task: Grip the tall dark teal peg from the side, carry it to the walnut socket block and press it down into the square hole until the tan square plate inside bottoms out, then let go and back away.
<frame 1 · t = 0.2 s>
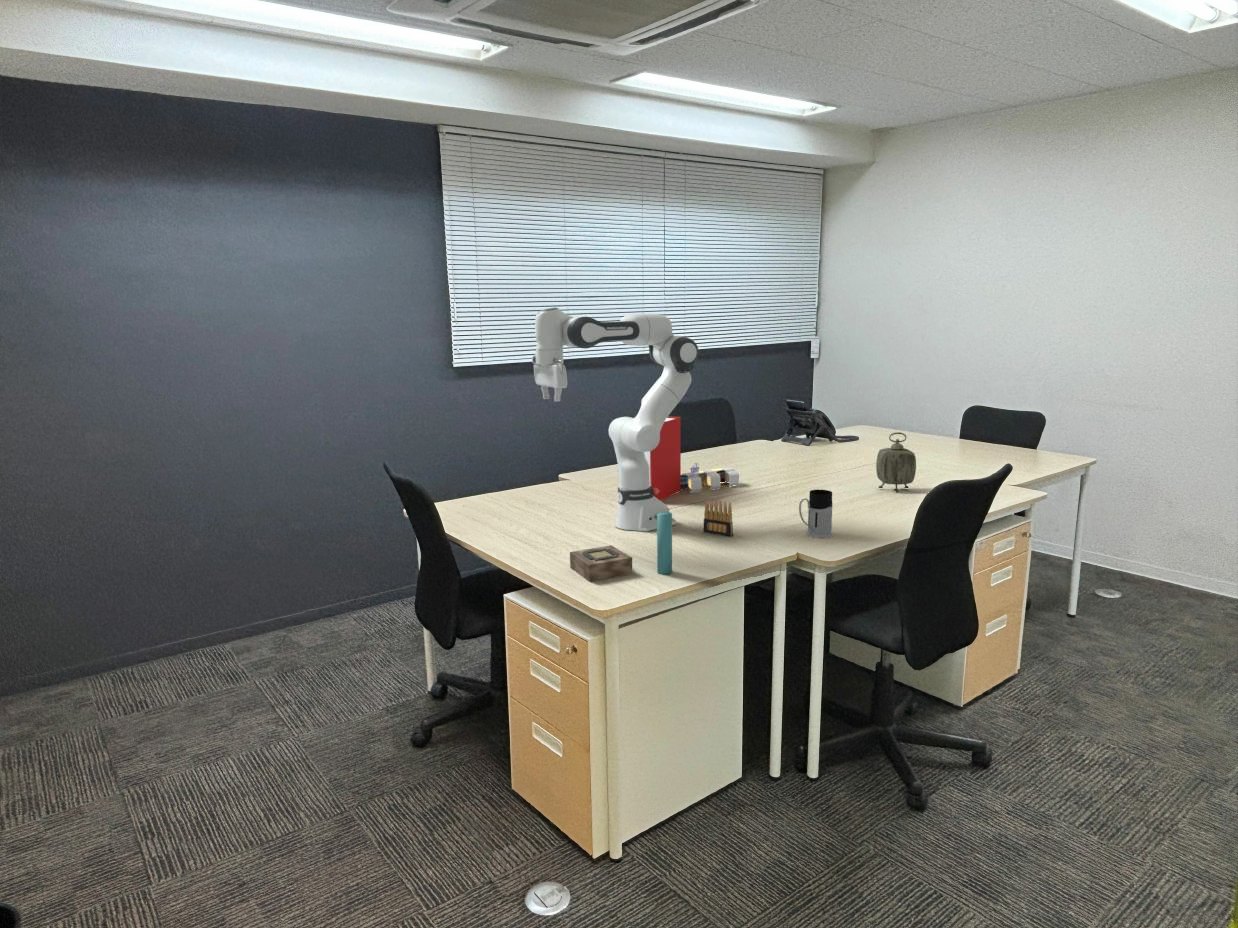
hand: (551, 400, 256), 48 cm above the table, tool pointing down, fingers open, 8 cm apart
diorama: (708, 489, 336), on the table
tabletop clock: (895, 491, 325), on the table
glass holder: (813, 536, 263), on the table
tan square plate: (600, 556, 230), point 5 cm above the table, slide at 4.0 cm
book: (658, 496, 323), on the table
peg: (664, 572, 229), on the table
socket block: (600, 570, 231), on the table
ammunition clip: (717, 534, 267), on the table
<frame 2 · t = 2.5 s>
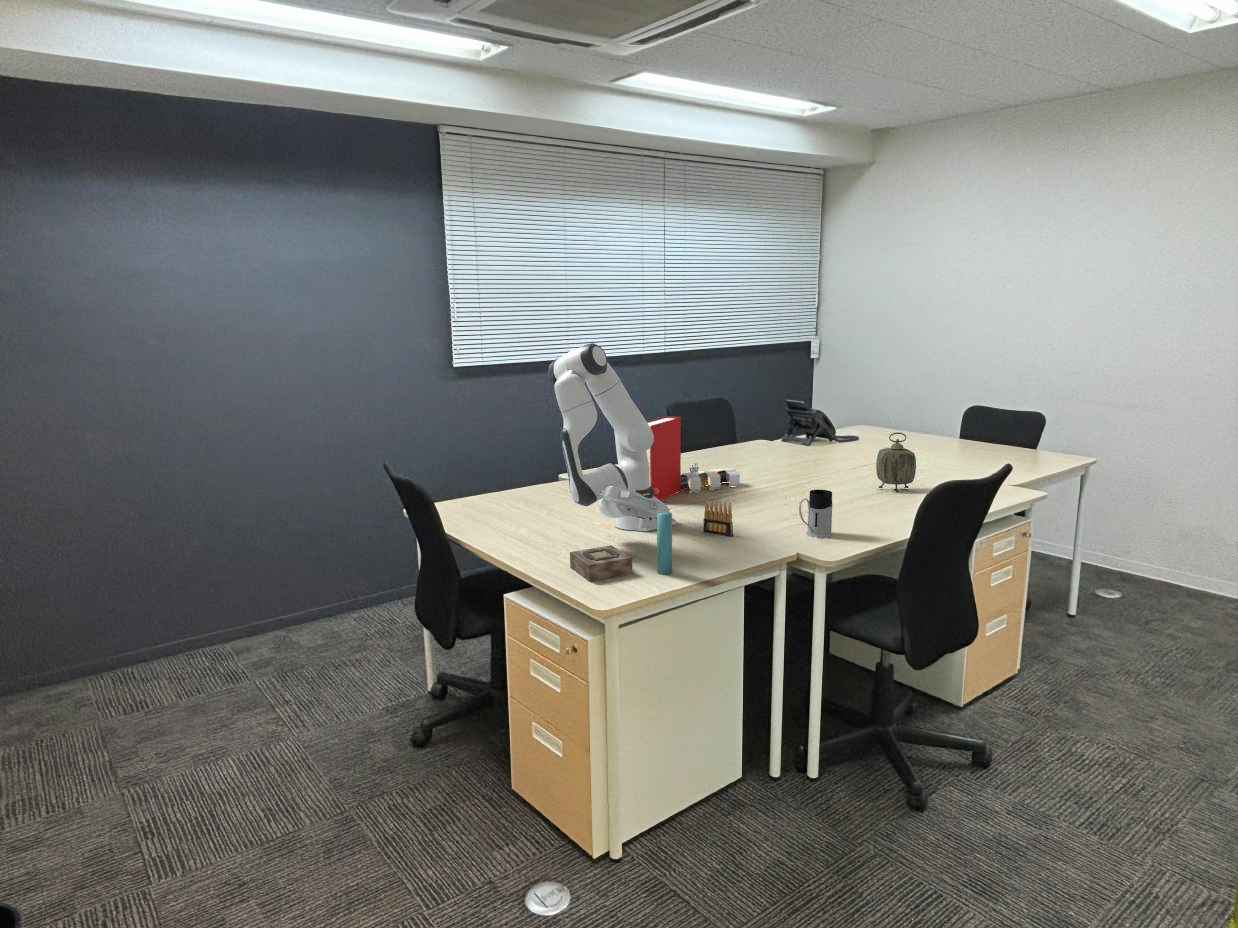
hand: (644, 499, 234), 20 cm above the table, tool pointing upward, fingers open, 8 cm apart
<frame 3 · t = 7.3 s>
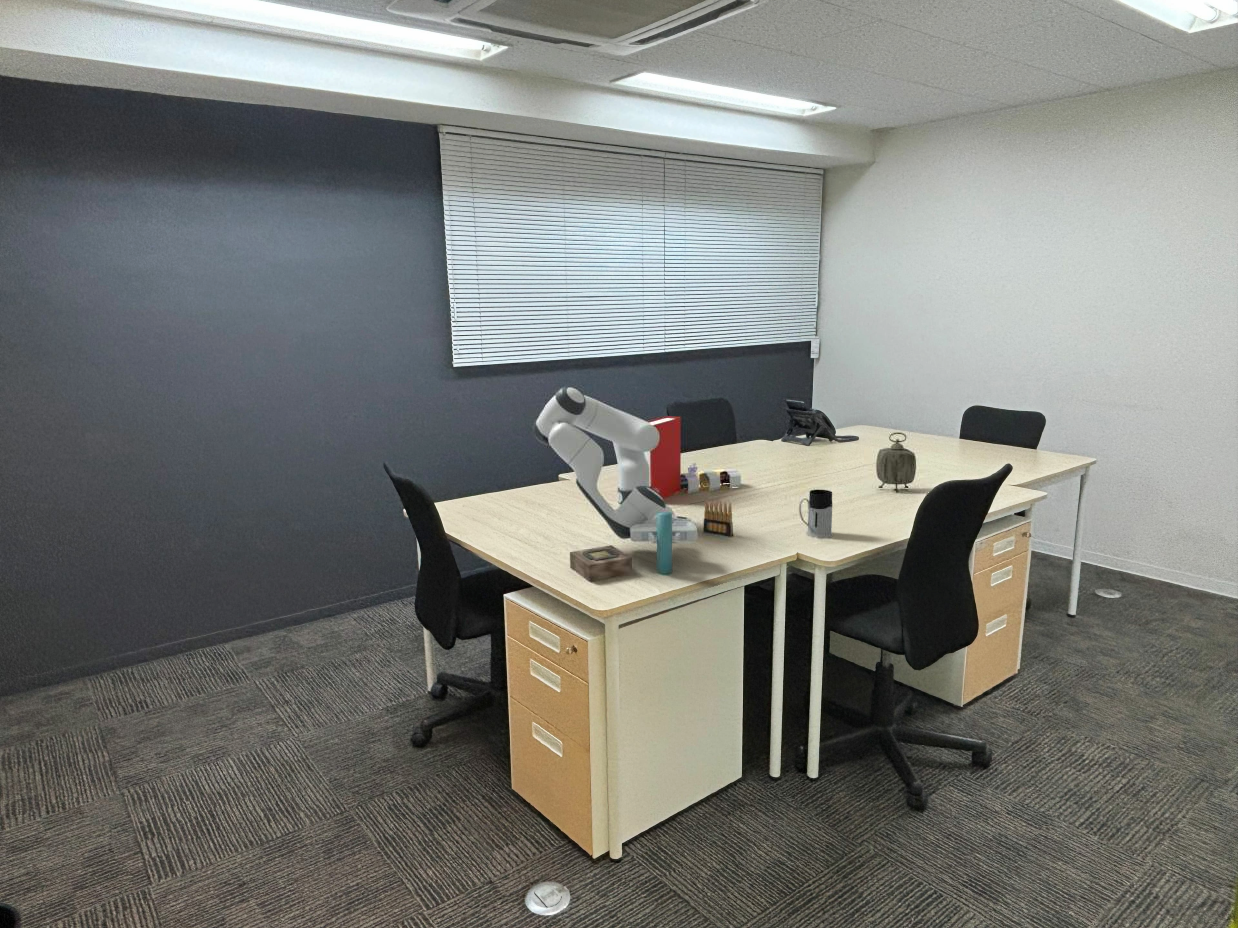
hand: (664, 540, 226), 10 cm above the table, tool horizontal, fingers closed on peg, 4 cm apart
peg: (664, 572, 229), on the table, touching gripper
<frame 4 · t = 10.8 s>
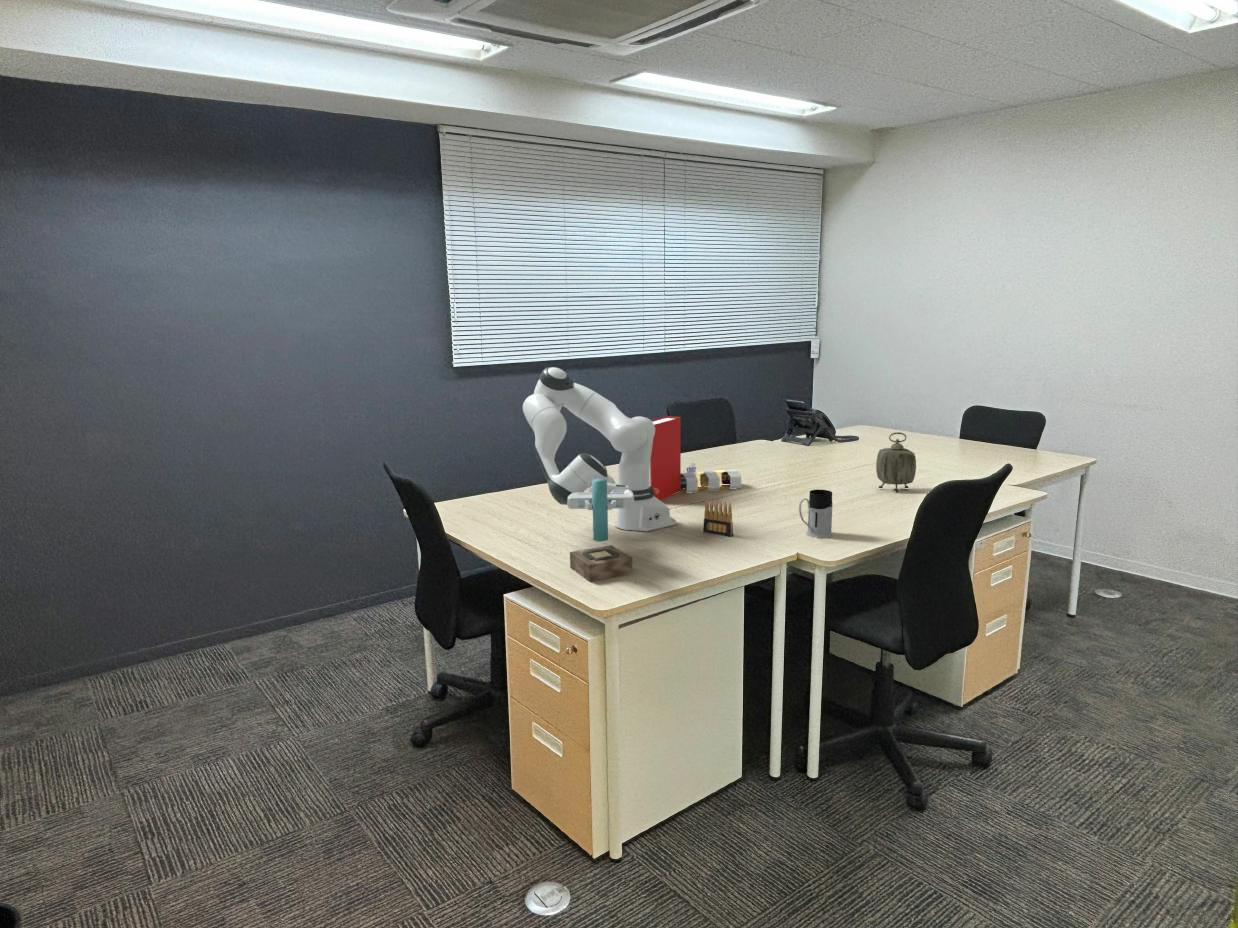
hand: (599, 507, 226), 20 cm above the table, tool horizontal, fingers closed on peg, 4 cm apart
peg: (600, 539, 229), point 10 cm above the table, touching gripper
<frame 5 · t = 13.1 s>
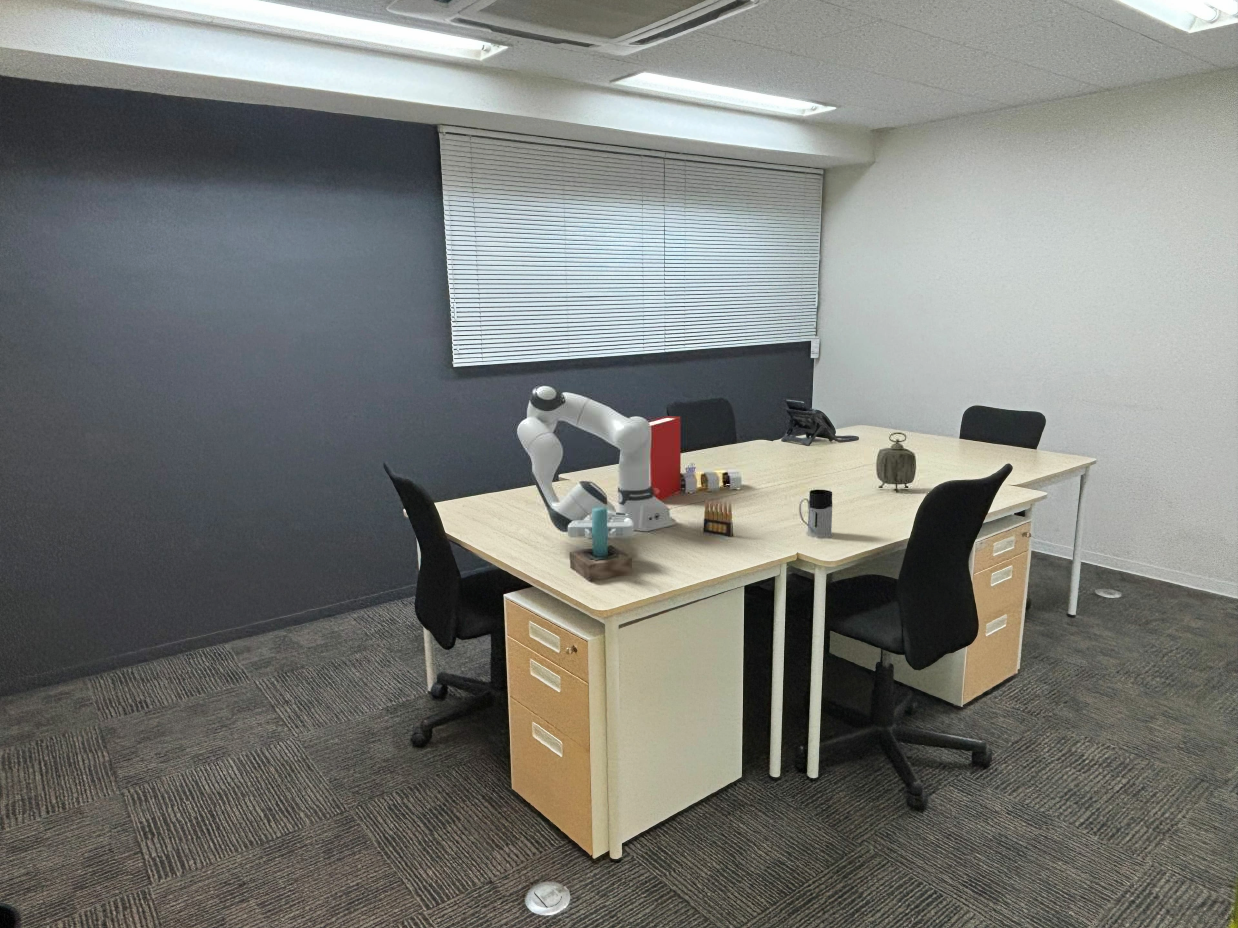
hand: (599, 536, 228), 11 cm above the table, tool horizontal, fingers closed on peg, 4 cm apart
tan square plate: (600, 568, 231), point 1 cm above the table, slide at -0.1 cm, touching peg
peg: (600, 567, 231), point 1 cm above the table, touching gripper, tan square plate
when the fingers open (11 cm above the table, at t = 14.1 s): peg stays where it is, resting on tan square plate.
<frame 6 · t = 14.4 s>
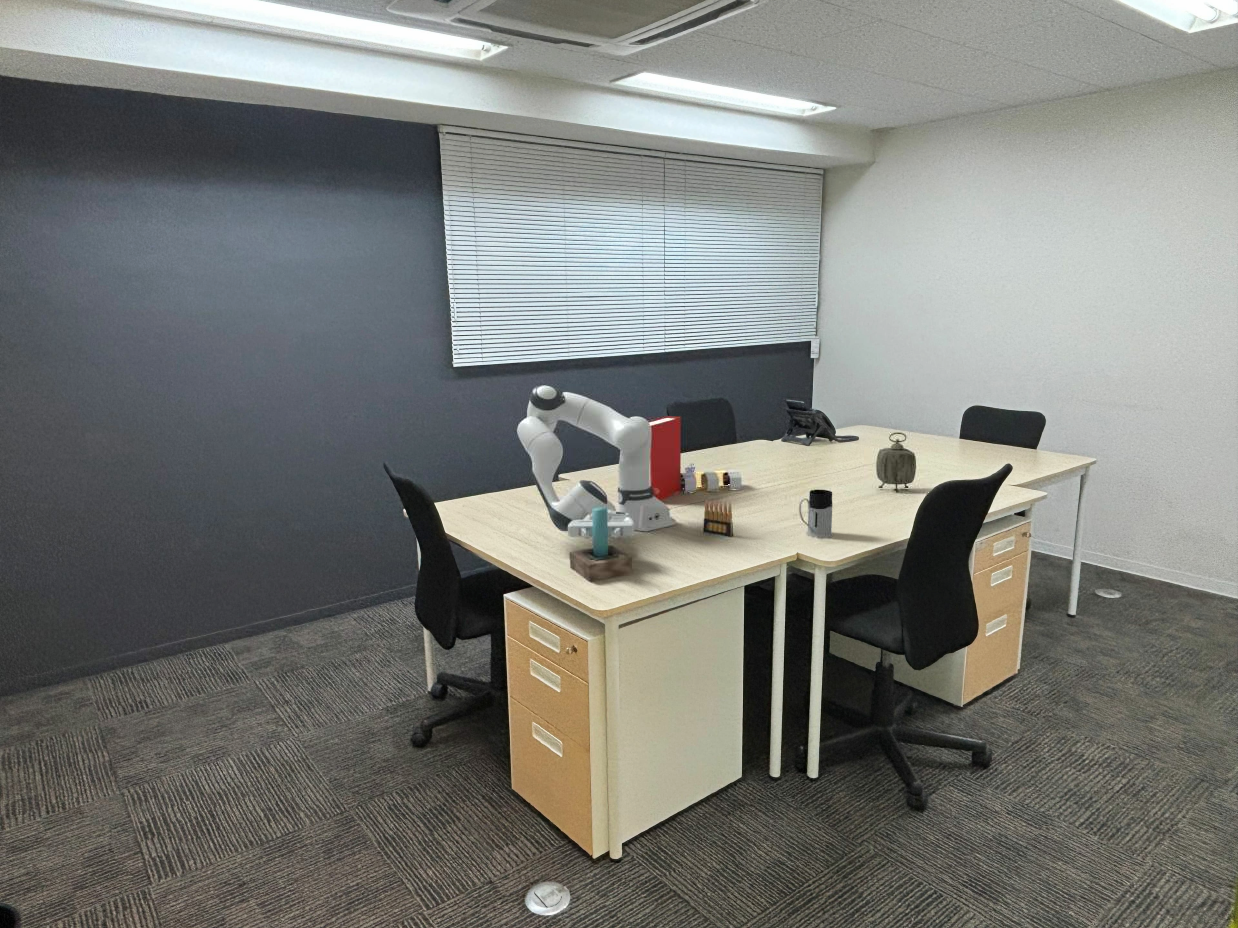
hand: (600, 535, 228), 11 cm above the table, tool horizontal, fingers open, 7 cm apart
peg: (601, 567, 231), point 1 cm above the table, touching tan square plate
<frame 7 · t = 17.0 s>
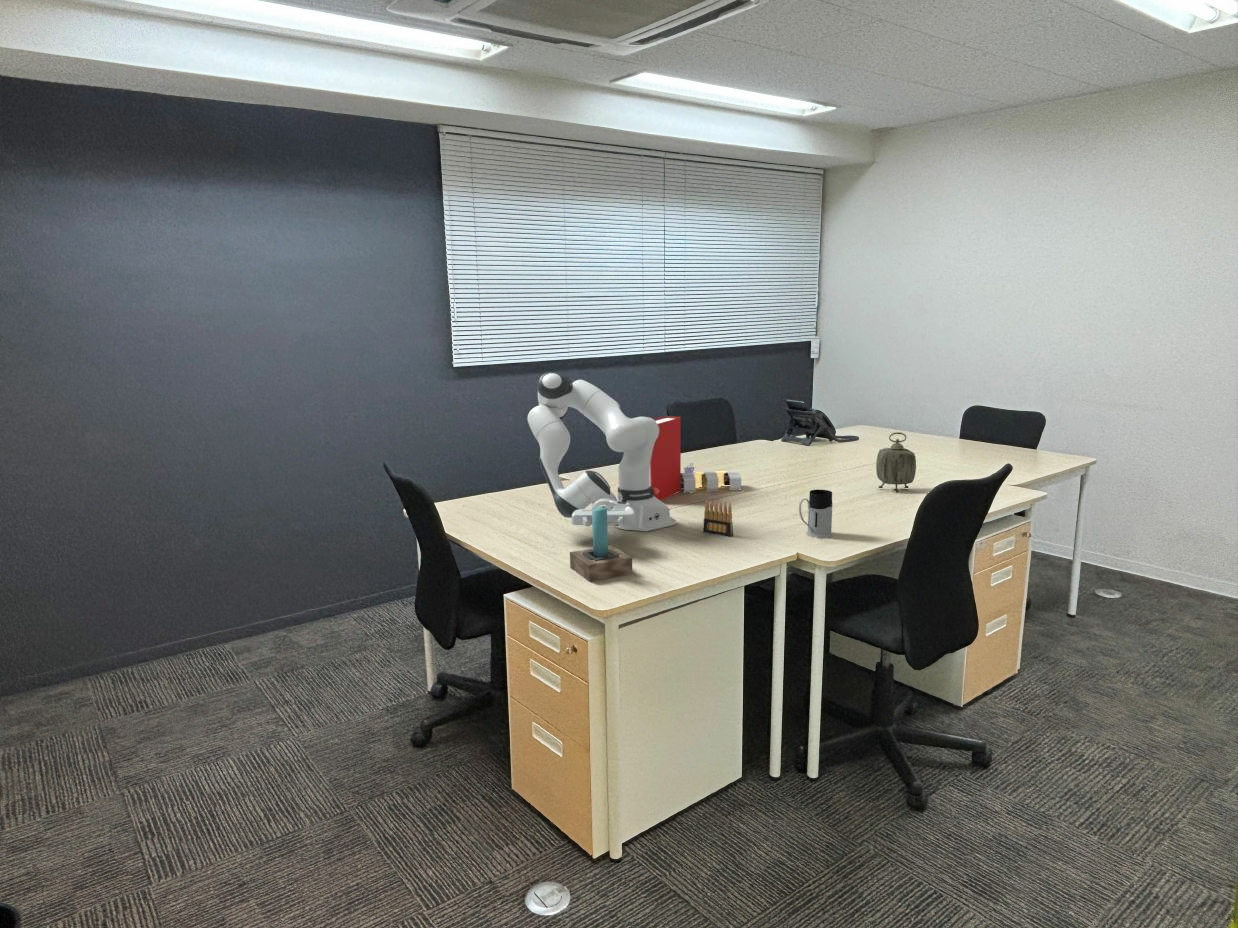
hand: (602, 523, 240), 11 cm above the table, tool horizontal, fingers open, 8 cm apart
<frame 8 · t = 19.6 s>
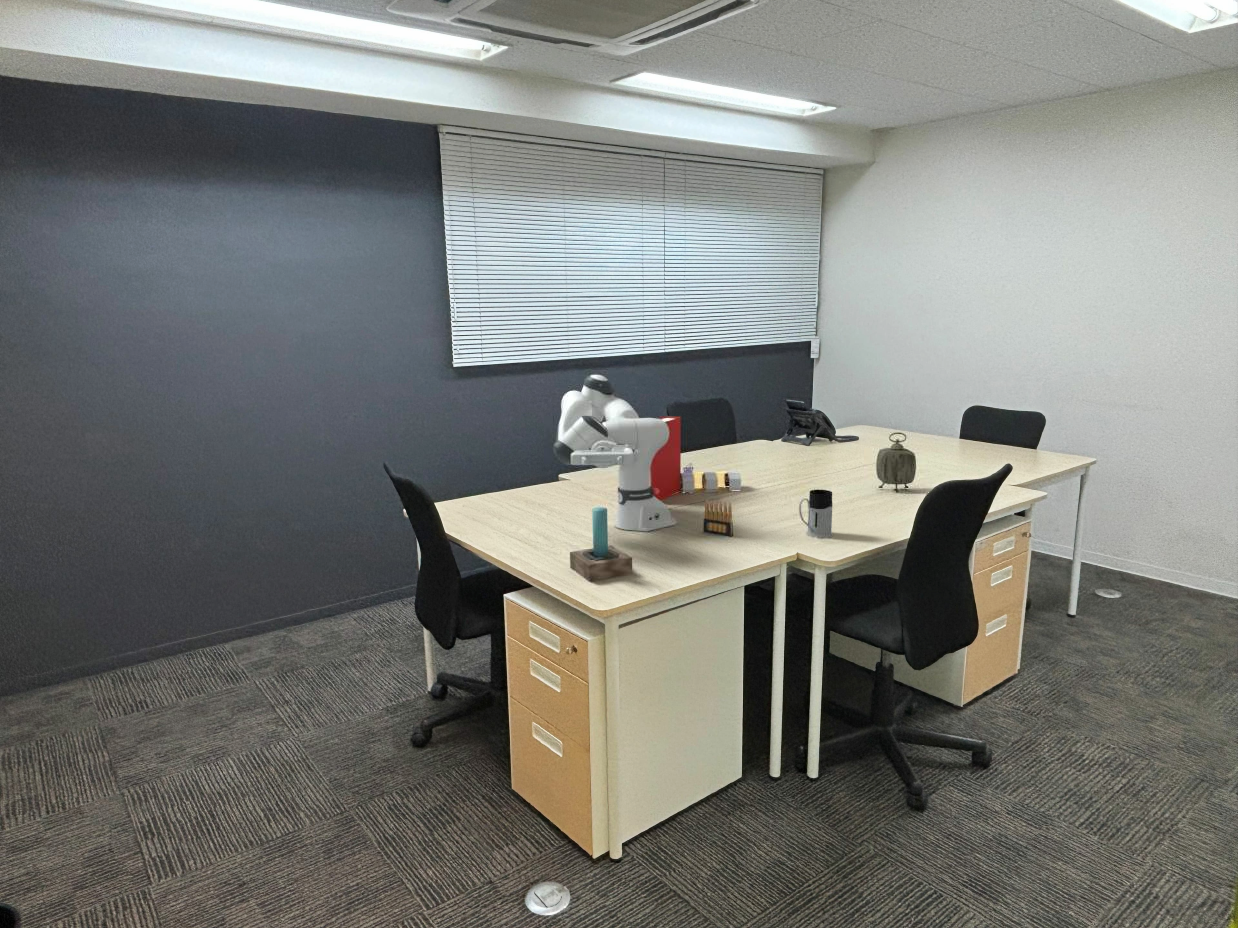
hand: (601, 462, 241), 30 cm above the table, tool horizontal, fingers open, 8 cm apart
at the end: tan square plate slide at -0.1 cm; peg 0.1 cm off-centre on the socket block, point 1.1 cm above the socket block's base; the gripper is holding nothing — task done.
